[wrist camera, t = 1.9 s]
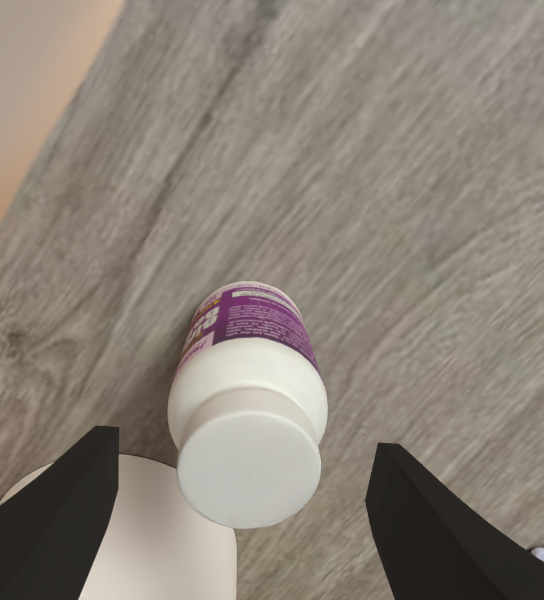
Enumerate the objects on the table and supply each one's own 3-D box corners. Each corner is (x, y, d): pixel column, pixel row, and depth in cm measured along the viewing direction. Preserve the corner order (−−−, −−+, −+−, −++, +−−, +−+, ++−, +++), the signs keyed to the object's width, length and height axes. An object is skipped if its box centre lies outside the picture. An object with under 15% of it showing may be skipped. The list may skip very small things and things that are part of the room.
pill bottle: (195, 270, 20) (156, 375, 11) (312, 285, 21) (365, 397, 12) (184, 377, 22) (143, 544, 13) (292, 388, 22) (326, 556, 13)
